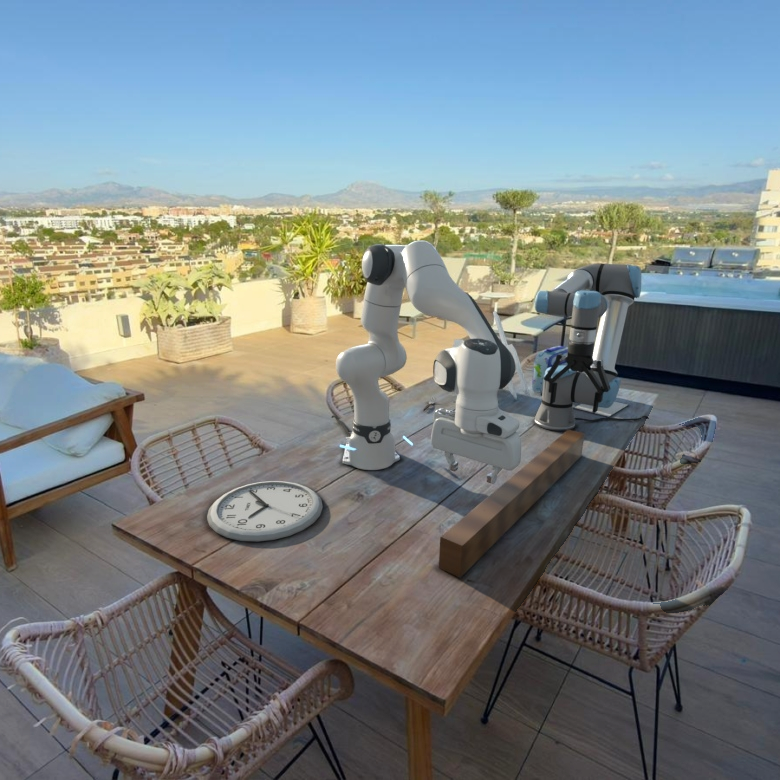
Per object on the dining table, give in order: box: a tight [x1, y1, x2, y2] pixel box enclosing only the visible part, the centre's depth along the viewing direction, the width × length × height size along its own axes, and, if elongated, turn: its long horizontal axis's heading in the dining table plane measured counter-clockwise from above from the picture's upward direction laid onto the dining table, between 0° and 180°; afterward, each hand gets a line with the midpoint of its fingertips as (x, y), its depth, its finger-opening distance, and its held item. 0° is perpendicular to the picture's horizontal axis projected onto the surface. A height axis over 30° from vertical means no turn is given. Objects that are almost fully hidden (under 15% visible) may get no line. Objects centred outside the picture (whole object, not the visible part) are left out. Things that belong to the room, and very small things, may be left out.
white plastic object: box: [452, 310, 531, 400], centre depth 245 cm, size 37×45×31 cm
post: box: [438, 430, 585, 578], centre depth 146 cm, size 82×6×8 cm, turn 143°
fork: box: [422, 395, 437, 412], centre depth 223 cm, size 3×16×2 cm, turn 160°
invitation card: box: [573, 401, 629, 418], centre depth 226 cm, size 21×1×15 cm
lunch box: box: [531, 345, 568, 394], centre depth 244 cm, size 26×11×21 cm, turn 135°
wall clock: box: [206, 480, 324, 543], centre depth 140 cm, size 30×2×30 cm
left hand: (471, 476), depth 114 cm, fingers open, 8 cm apart
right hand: (573, 407), depth 167 cm, fingers open, 13 cm apart
